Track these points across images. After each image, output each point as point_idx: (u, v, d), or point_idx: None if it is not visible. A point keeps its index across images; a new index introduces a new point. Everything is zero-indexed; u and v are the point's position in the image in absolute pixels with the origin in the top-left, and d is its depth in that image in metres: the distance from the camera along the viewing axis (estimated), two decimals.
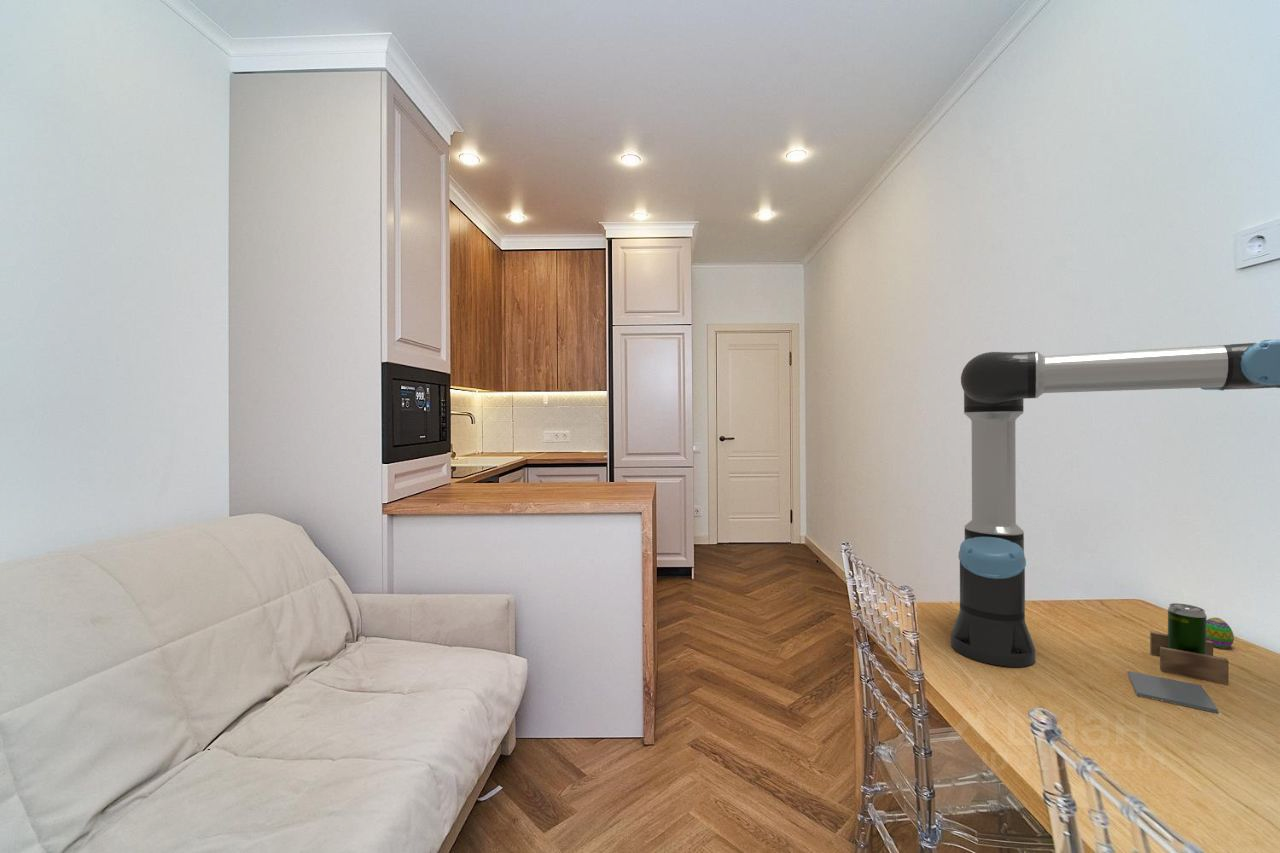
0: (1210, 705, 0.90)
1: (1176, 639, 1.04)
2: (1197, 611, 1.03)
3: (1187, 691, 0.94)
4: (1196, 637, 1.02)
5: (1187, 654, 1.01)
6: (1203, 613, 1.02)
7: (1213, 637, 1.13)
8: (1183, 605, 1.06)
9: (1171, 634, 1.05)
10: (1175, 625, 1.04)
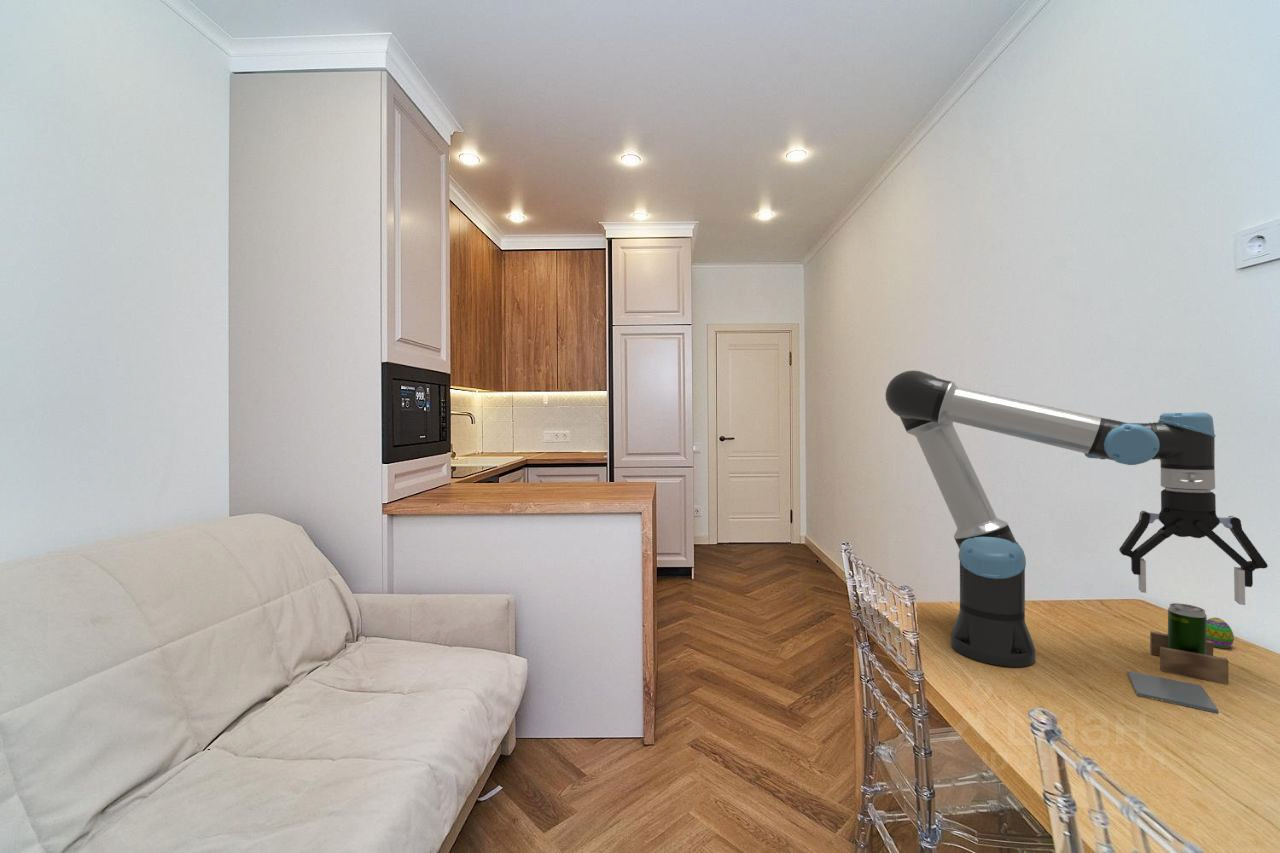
0: (1210, 705, 0.90)
1: (1176, 639, 1.04)
2: (1197, 611, 1.03)
3: (1187, 691, 0.94)
4: (1196, 637, 1.02)
5: (1187, 654, 1.01)
6: (1203, 613, 1.02)
7: (1213, 637, 1.13)
8: (1183, 605, 1.06)
9: (1171, 634, 1.05)
10: (1175, 625, 1.04)
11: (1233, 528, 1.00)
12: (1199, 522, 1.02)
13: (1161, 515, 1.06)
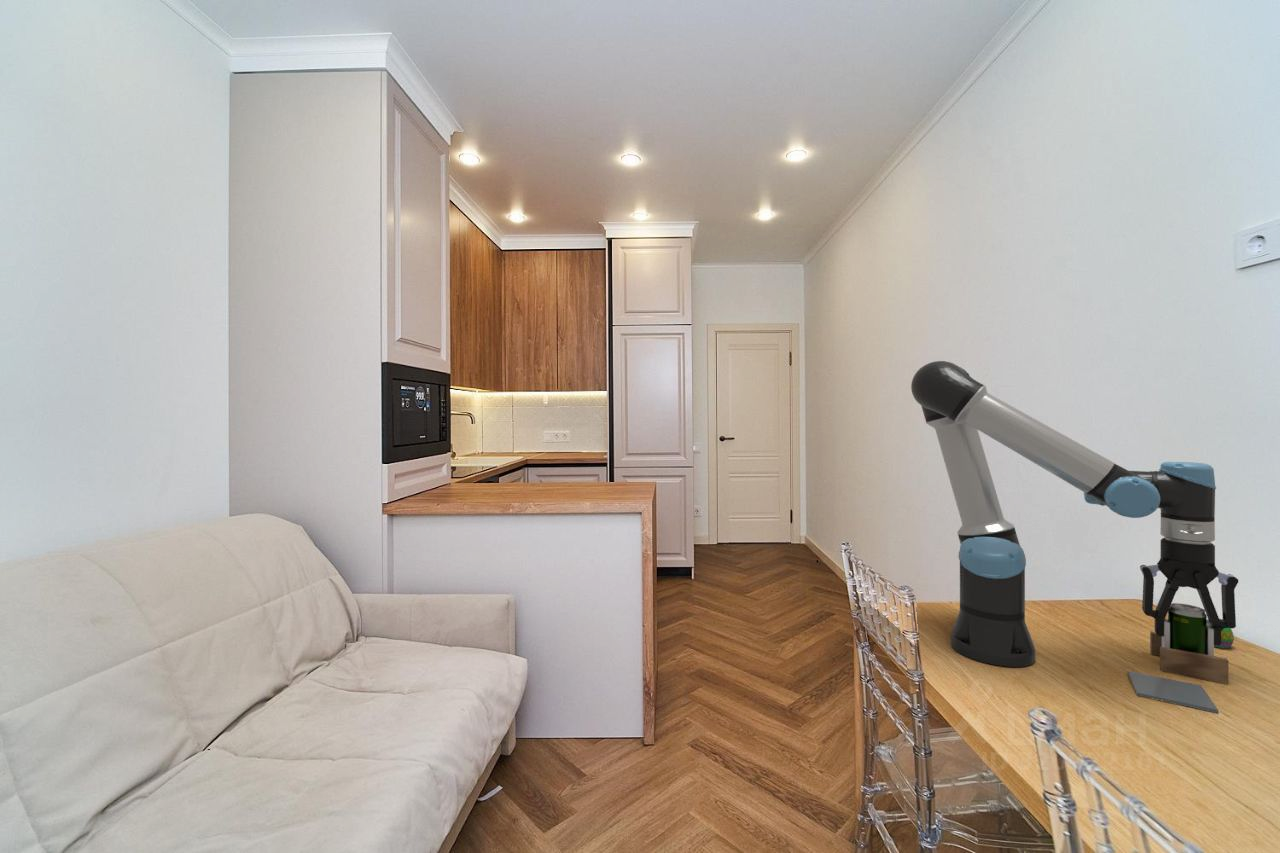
0: (1210, 705, 0.90)
1: (1176, 639, 1.04)
2: (1197, 611, 1.03)
3: (1187, 691, 0.94)
4: (1196, 637, 1.02)
5: (1187, 654, 1.01)
6: (1203, 613, 1.02)
7: None
8: (1183, 605, 1.06)
9: (1172, 634, 1.05)
10: (1175, 625, 1.04)
11: (1226, 585, 1.01)
12: (1199, 573, 1.02)
13: (1159, 566, 1.06)
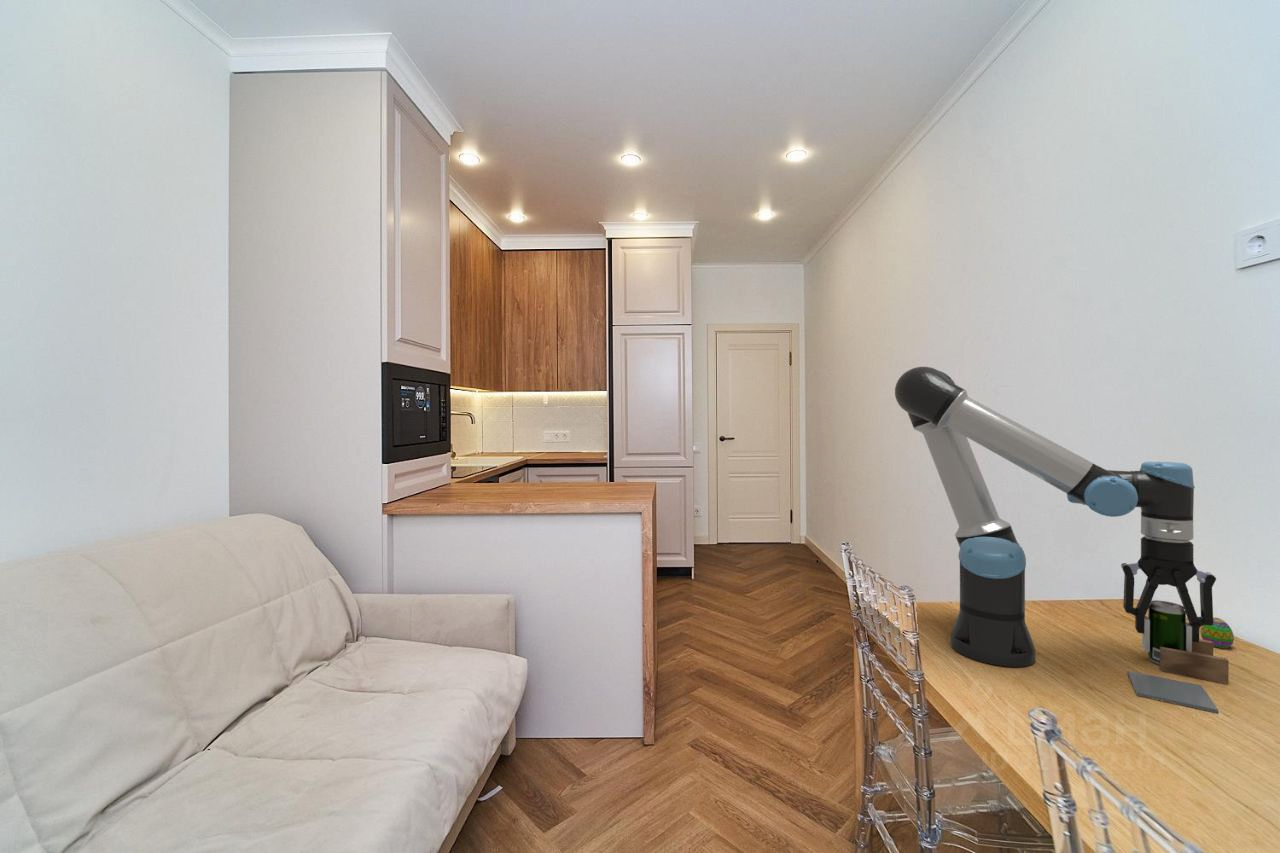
0: (1210, 705, 0.90)
1: (1155, 635, 1.06)
2: (1176, 608, 1.04)
3: (1187, 691, 0.94)
4: (1175, 633, 1.04)
5: (1187, 654, 1.01)
6: (1182, 610, 1.04)
7: (1213, 637, 1.13)
8: (1164, 602, 1.08)
9: (1151, 630, 1.07)
10: (1154, 622, 1.06)
11: (1204, 583, 1.02)
12: (1178, 571, 1.04)
13: (1140, 564, 1.08)
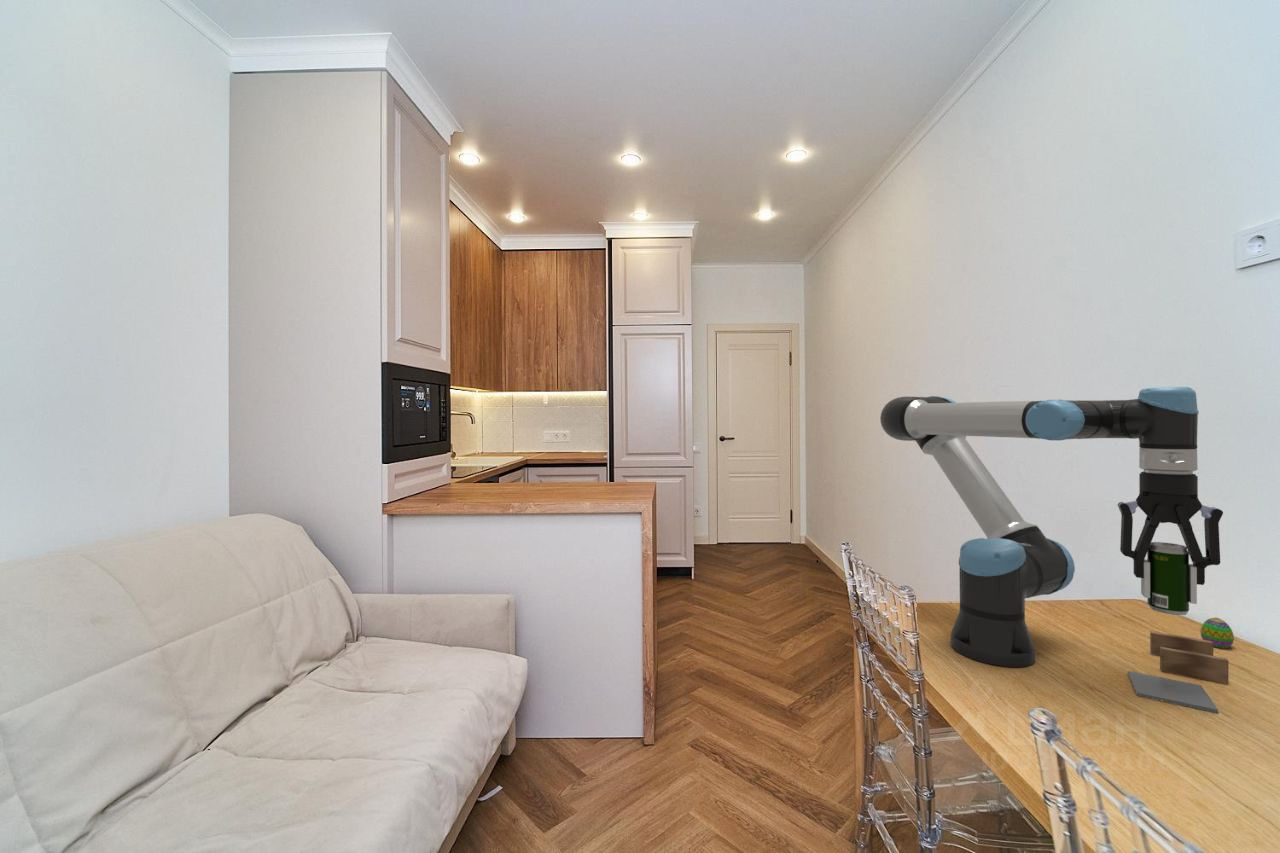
0: (1210, 705, 0.90)
1: (1155, 579, 0.96)
2: (1178, 548, 0.94)
3: (1187, 691, 0.94)
4: (1177, 575, 0.94)
5: (1187, 654, 1.01)
6: (1185, 550, 0.94)
7: (1213, 637, 1.13)
8: (1164, 543, 0.98)
9: (1151, 574, 0.97)
10: (1154, 564, 0.96)
11: (1210, 519, 0.92)
12: (1181, 507, 0.94)
13: (1138, 501, 0.97)
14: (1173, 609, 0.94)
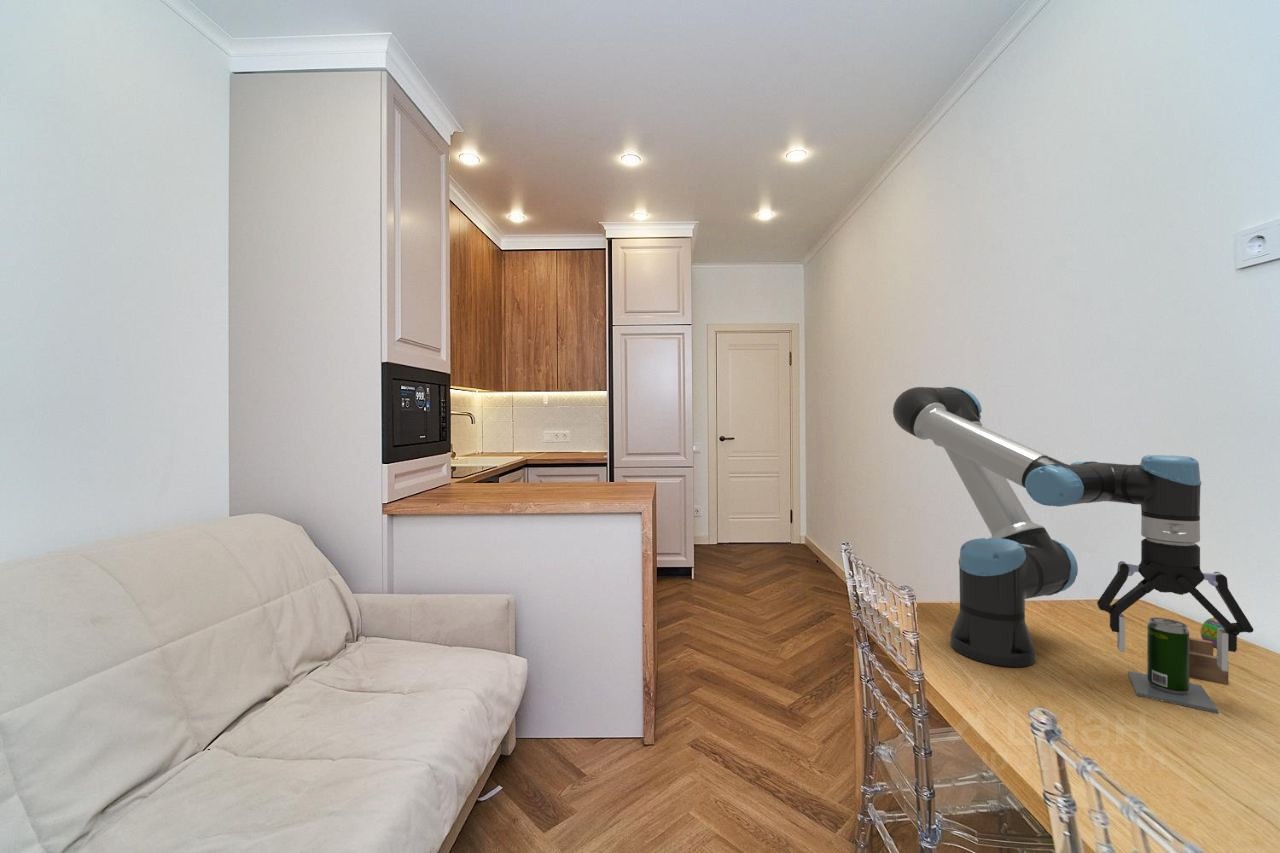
0: (1210, 705, 0.90)
1: (1154, 656, 0.95)
2: (1178, 627, 0.94)
3: None
4: (1176, 655, 0.93)
5: None
6: (1185, 629, 0.93)
7: (1213, 637, 1.13)
8: (1165, 620, 0.97)
9: (1150, 650, 0.96)
10: (1153, 641, 0.95)
11: (1218, 586, 0.91)
12: (1182, 577, 0.93)
13: (1141, 567, 0.97)
14: (1172, 688, 0.93)
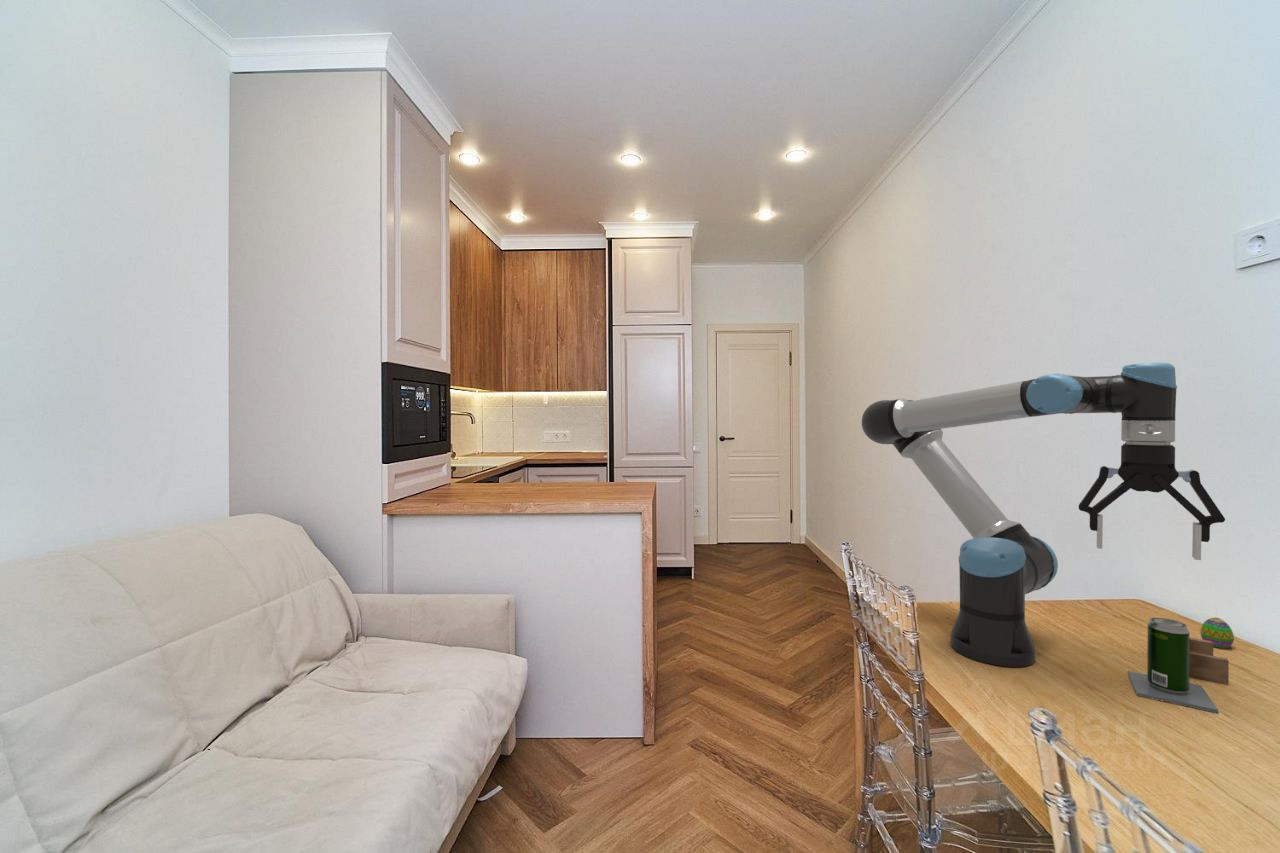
0: (1210, 705, 0.90)
1: (1154, 656, 0.95)
2: (1178, 627, 0.94)
3: None
4: (1176, 655, 0.93)
5: None
6: (1185, 629, 0.93)
7: (1213, 637, 1.13)
8: (1165, 620, 0.97)
9: (1150, 651, 0.96)
10: (1153, 641, 0.95)
11: (1191, 481, 0.97)
12: (1157, 476, 0.99)
13: (1120, 469, 1.03)
14: (1172, 688, 0.93)
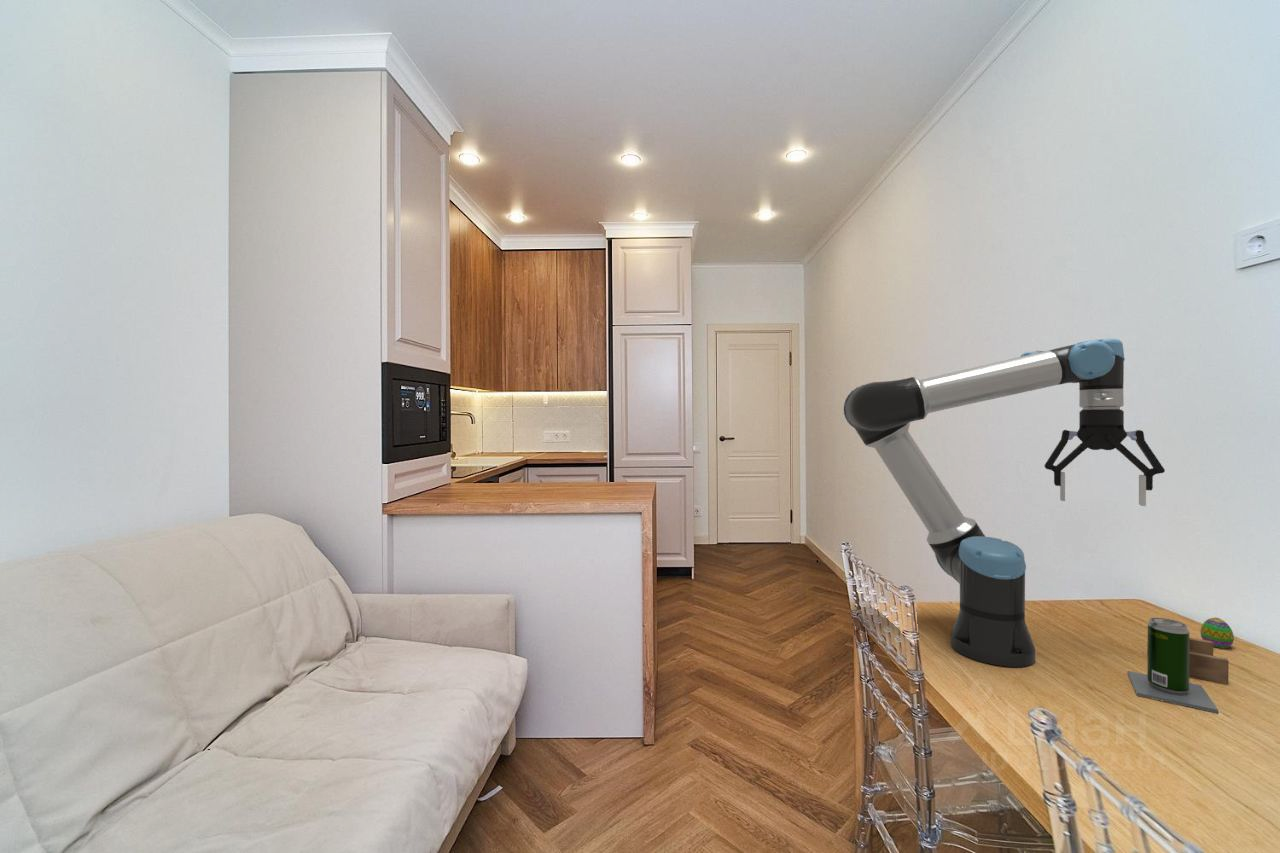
0: (1210, 705, 0.90)
1: (1154, 656, 0.95)
2: (1178, 627, 0.94)
3: None
4: (1176, 655, 0.93)
5: None
6: (1185, 629, 0.93)
7: (1213, 637, 1.13)
8: (1165, 620, 0.97)
9: (1150, 651, 0.96)
10: (1153, 641, 0.95)
11: (1137, 439, 1.14)
12: (1109, 435, 1.16)
13: (1078, 432, 1.20)
14: (1172, 688, 0.93)
